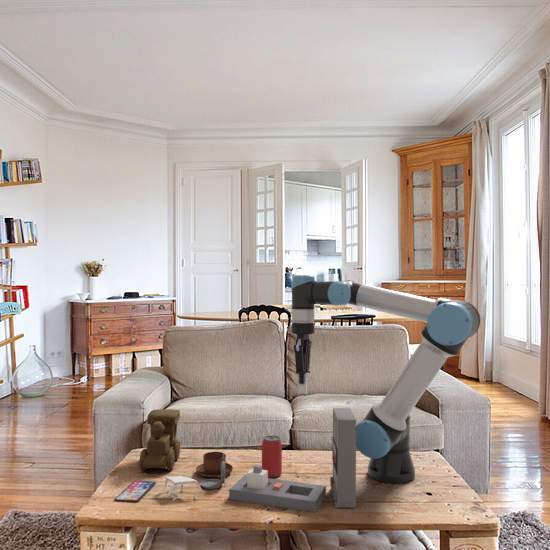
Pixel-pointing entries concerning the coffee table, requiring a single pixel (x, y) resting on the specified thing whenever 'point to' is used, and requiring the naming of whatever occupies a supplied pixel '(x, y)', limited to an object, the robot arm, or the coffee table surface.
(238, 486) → the power strip
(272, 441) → the beer can
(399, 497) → the coffee table surface
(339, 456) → the upright grey rectangular panel
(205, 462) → the cup and saucer
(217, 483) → the pocket watch
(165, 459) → the wooden toy train
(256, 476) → the plug
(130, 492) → the smartphone
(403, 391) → the robot arm
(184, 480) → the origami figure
